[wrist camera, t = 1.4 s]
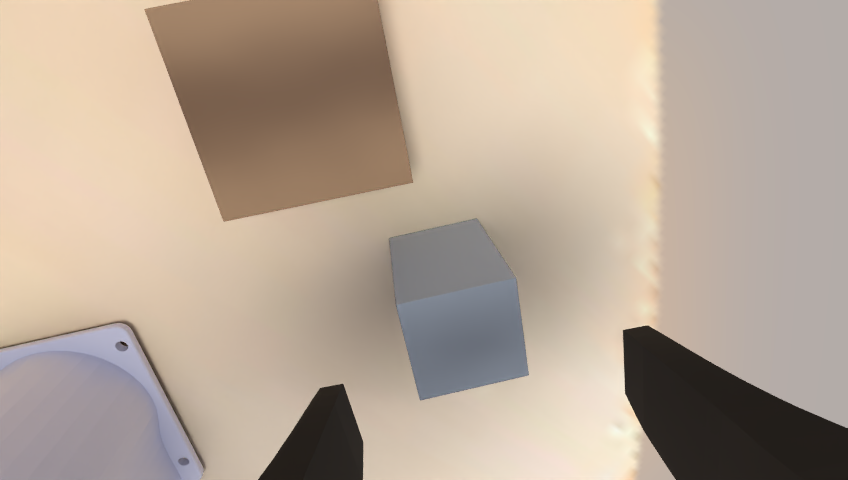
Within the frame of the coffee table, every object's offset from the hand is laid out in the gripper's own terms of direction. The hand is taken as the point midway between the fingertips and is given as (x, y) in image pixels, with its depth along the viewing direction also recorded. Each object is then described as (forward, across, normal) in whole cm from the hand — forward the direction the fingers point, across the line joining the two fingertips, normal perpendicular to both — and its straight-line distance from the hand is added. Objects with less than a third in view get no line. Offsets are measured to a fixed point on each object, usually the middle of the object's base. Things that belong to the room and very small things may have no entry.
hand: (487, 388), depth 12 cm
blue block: (+10, +1, +1) cm, 10 cm away
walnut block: (+10, +5, -7) cm, 13 cm away
